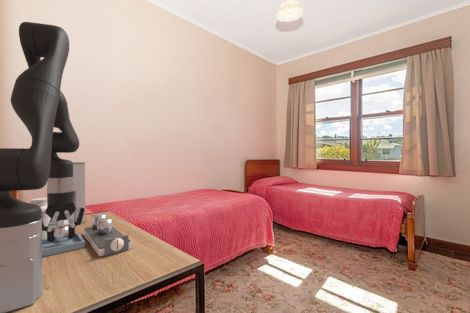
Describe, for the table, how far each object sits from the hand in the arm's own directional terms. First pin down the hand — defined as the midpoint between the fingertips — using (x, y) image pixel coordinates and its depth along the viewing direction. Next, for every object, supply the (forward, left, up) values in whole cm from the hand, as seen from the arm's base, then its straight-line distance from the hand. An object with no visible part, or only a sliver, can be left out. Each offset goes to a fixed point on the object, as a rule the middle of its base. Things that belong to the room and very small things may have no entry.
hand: (61, 239), depth 82 cm
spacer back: (+7, -13, 0) cm, 15 cm away
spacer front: (0, 0, 0) cm, 0 cm away
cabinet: (+30, -7, -3) cm, 31 cm away
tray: (0, 0, -3) cm, 3 cm away
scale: (-3, -13, -3) cm, 14 cm away
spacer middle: (-2, -13, 0) cm, 13 cm away
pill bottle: (+16, +5, -3) cm, 17 cm away
